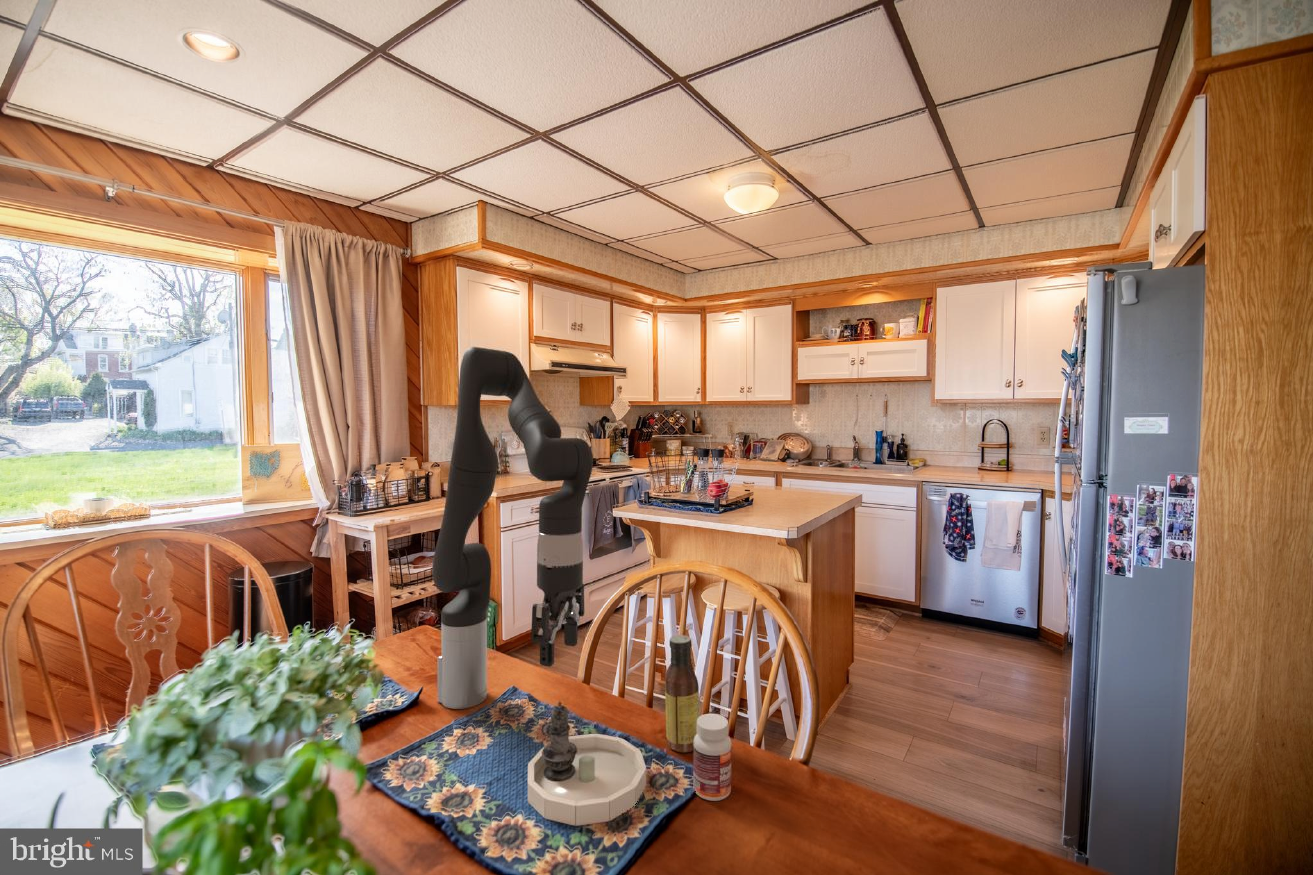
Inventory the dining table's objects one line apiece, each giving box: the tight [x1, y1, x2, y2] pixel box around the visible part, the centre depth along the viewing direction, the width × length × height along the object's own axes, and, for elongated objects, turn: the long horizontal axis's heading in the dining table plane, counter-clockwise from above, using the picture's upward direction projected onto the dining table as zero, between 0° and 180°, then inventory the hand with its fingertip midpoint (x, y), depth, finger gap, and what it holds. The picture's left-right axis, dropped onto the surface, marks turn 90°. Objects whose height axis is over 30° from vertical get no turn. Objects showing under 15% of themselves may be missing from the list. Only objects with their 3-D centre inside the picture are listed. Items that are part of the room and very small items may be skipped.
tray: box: [527, 733, 647, 827], centre depth 94 cm, size 19×19×4 cm
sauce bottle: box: [664, 634, 701, 753], centre depth 105 cm, size 6×6×20 cm
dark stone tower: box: [542, 701, 577, 782], centre depth 96 cm, size 6×6×12 cm
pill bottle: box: [692, 713, 732, 802], centre depth 93 cm, size 6×6×11 cm
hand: (559, 654), depth 95 cm, fingers open, 8 cm apart
